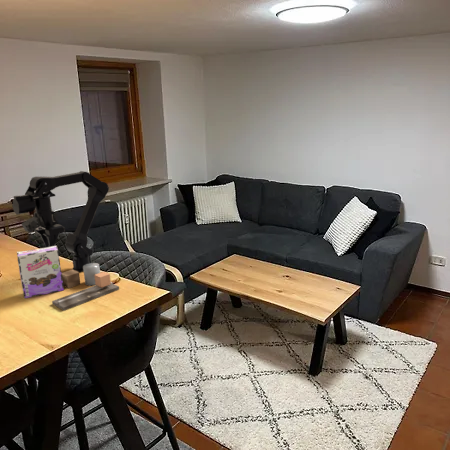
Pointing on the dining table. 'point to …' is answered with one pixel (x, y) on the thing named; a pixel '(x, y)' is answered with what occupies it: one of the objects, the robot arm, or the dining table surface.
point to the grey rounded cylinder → (90, 273)
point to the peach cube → (102, 279)
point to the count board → (83, 296)
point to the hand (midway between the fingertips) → (49, 247)
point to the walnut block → (70, 278)
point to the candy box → (40, 271)
